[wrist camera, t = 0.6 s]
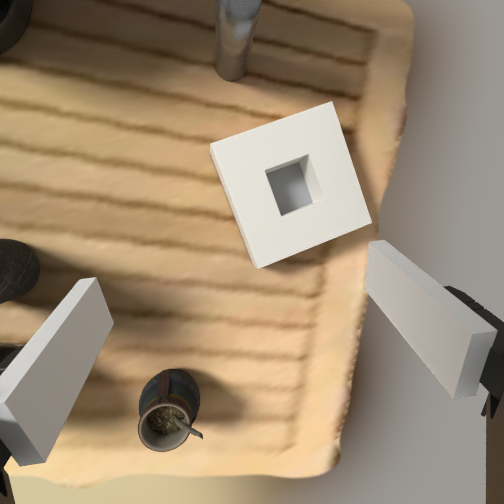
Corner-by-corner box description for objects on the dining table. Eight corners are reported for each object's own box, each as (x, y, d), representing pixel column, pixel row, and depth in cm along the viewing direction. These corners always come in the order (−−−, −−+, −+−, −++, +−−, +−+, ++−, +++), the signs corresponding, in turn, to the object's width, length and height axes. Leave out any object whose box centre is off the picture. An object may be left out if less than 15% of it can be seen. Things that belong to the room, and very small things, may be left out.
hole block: (210, 155, 38) (210, 143, 33) (316, 117, 39) (332, 101, 34) (252, 264, 40) (258, 268, 35) (352, 223, 41) (372, 222, 36)
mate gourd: (138, 369, 38) (115, 416, 29) (196, 355, 40) (193, 395, 30) (150, 421, 39) (132, 484, 29) (207, 405, 40) (208, 462, 30)
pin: (209, 53, 37) (209, -65, 22) (239, 44, 37) (259, -79, 23) (221, 85, 37) (229, -10, 23) (251, 75, 38) (277, -24, 23)
